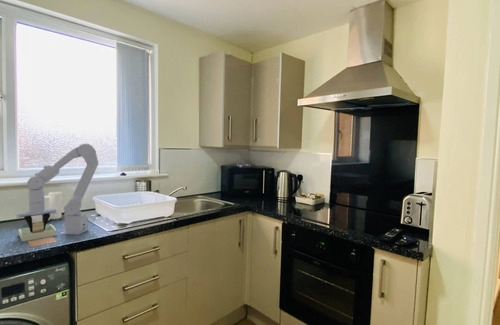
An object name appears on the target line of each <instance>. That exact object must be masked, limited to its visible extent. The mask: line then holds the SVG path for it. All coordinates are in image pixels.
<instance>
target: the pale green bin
mask: <svg viewBox="0 0 500 325" xmlns="http://www.w3.org/2000/svg"><path fill="white" fill-rule="evenodd" d="M18 236H19V238H20V240H21V242H28V241H32V240H38V239H43V238H49V237H57V236H58V233H57V228H55V226H54V225H53V224H51V223H50V224H46V227H45V230H44V232H39V233H33V234H32V232H30V228H29V227H25V228H23V227H22V228H18Z"/></svg>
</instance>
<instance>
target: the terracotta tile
mask: <svg viewBox="0 0 500 325" xmlns="http://www.w3.org/2000/svg"><path fill="white" fill-rule="evenodd" d="M55 243H57V240H56V239H55V238H54V236H51V237H46V238H40V239H34V240H29V241H27V244H28V245H29V247H30V248H33V247H39V246H43V245H49V244H55Z"/></svg>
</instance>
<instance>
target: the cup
mask: <svg viewBox="0 0 500 325" xmlns="http://www.w3.org/2000/svg"><path fill="white" fill-rule="evenodd" d="M44 199H45V210H47V209H50V197H49V196H48V195H44ZM31 217H32V222H37V221H43V220H42V215H38V216H31ZM50 219H51V218H49V219H48V221H50Z"/></svg>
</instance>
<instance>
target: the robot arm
mask: <svg viewBox="0 0 500 325" xmlns="http://www.w3.org/2000/svg"><path fill="white" fill-rule="evenodd" d="M78 158H83V160H84V161H85V163H86V166H85V168H84V170H83V172H82V174H81V177H80V179H79V181H78V183H77V186H76V187H75V190H74V192H73V194H72V196H71V197H70V200H68V201H67V203H66V204H65V206H64V207H63V211H64V214H63V216H64V219H63V220H64V231H61V232H60V233H59V234H61V235H80V234H83V233H84V232H87V231H89V230H90V229H89V219H88V216H87V215H86V214H83V212H82V211H81V208H82V200H83V198H84V196H85V194H86V192H87V190H88V188H89V185H90V183H91V181H92V179H93V177H94V175H95V173H96V170H97V168H98V166H99V160H98V156H97V151H96V150H95V147H93V145H91V144H90V143H82V144H80V145H78V146H77V147H75V148H73V149H71V150H70V151H69V152H67V153H66V154H65V155H64V156H63V157H61V158H60V159H59V160H58V161H56V162H55V163H54V164H52V163H51V164H50V163H49V164H46V165H44V166H43V169H41V170H40V171H38V172H36V173H34V176H30V178H29V179H28V180H27V183H26V185H27V187H28V210H29V211H24V212H18V213H16V219H21V218H24V220H25V222H26V223H27V226H28V228H30V232H33V229H32V217H31V216H38V215H42V220H43V223H44V230H45V227H46V225H48V221H49V220H48V219H49V218H50V214H53V213H54V214H55V213H56V209H47V210H45V199H44V196H45V185H46V183H48V182H50V181H51V180H52V179H54V178H55V177H56V176H57V175H59V174H60V170H61V169H62V168H63V167H65V166H66V165H67V164H69V163H70V162H72V160H74V159H78ZM50 219H51V218H50Z"/></svg>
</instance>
